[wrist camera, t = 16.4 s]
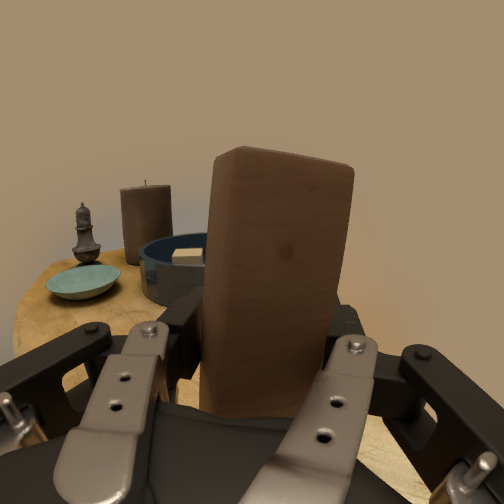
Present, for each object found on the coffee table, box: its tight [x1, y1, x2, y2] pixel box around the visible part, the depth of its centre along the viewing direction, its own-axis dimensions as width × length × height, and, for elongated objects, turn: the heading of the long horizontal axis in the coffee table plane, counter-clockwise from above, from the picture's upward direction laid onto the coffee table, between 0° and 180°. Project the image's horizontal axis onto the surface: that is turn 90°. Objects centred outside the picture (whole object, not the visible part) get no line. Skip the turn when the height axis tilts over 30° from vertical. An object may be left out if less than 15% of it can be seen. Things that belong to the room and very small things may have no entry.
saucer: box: [46, 265, 121, 300], centre depth 38 cm, size 12×12×2 cm
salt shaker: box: [72, 202, 102, 268], centre depth 48 cm, size 6×6×12 cm
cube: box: [172, 248, 203, 264], centre depth 42 cm, size 4×4×4 cm
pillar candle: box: [120, 180, 173, 265], centre depth 53 cm, size 10×10×15 cm
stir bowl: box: [139, 232, 207, 307], centre depth 43 cm, size 20×20×6 cm
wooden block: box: [199, 146, 354, 419], centre depth 10 cm, size 7×3×15 cm, turn 106°
